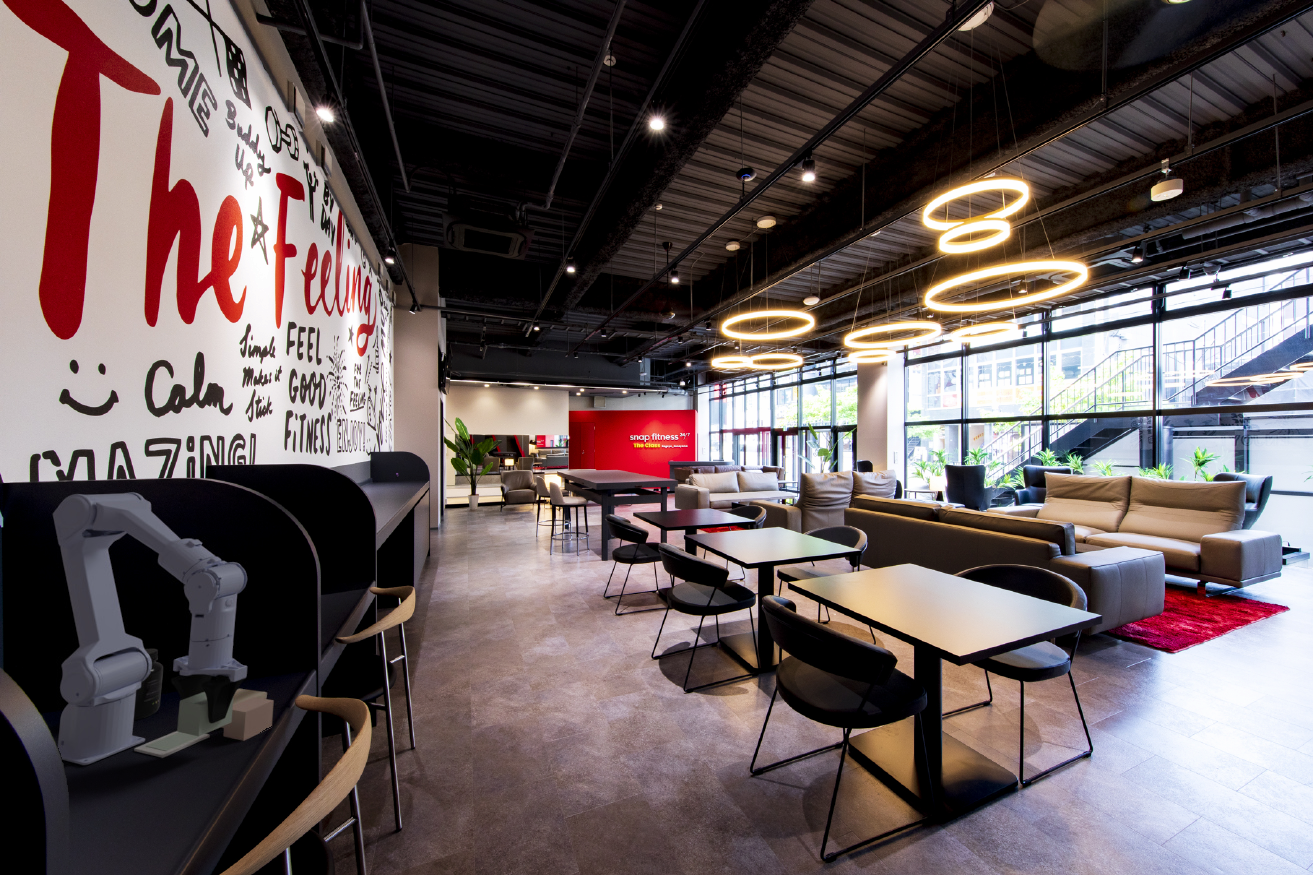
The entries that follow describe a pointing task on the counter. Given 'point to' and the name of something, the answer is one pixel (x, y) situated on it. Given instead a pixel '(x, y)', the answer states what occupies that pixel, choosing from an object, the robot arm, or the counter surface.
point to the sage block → (198, 716)
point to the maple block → (246, 696)
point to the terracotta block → (249, 718)
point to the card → (169, 744)
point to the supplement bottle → (149, 689)
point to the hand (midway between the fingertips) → (205, 717)
